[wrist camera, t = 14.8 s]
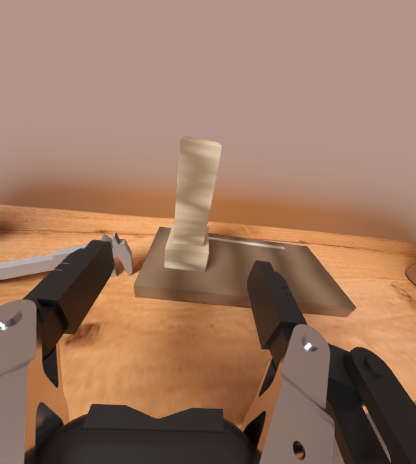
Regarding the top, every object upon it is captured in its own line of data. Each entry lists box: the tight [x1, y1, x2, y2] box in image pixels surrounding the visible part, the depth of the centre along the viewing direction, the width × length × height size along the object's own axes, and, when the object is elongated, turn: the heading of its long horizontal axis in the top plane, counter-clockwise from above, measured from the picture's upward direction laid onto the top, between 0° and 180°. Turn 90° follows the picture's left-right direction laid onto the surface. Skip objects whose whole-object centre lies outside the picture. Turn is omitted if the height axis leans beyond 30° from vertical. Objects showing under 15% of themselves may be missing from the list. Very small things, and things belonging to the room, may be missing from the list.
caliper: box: [0, 232, 133, 280], centre depth 17 cm, size 20×1×6 cm, turn 106°
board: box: [134, 227, 356, 317], centre depth 25 cm, size 26×12×2 cm, turn 90°
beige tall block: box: [164, 137, 222, 272], centre depth 20 cm, size 5×7×14 cm
